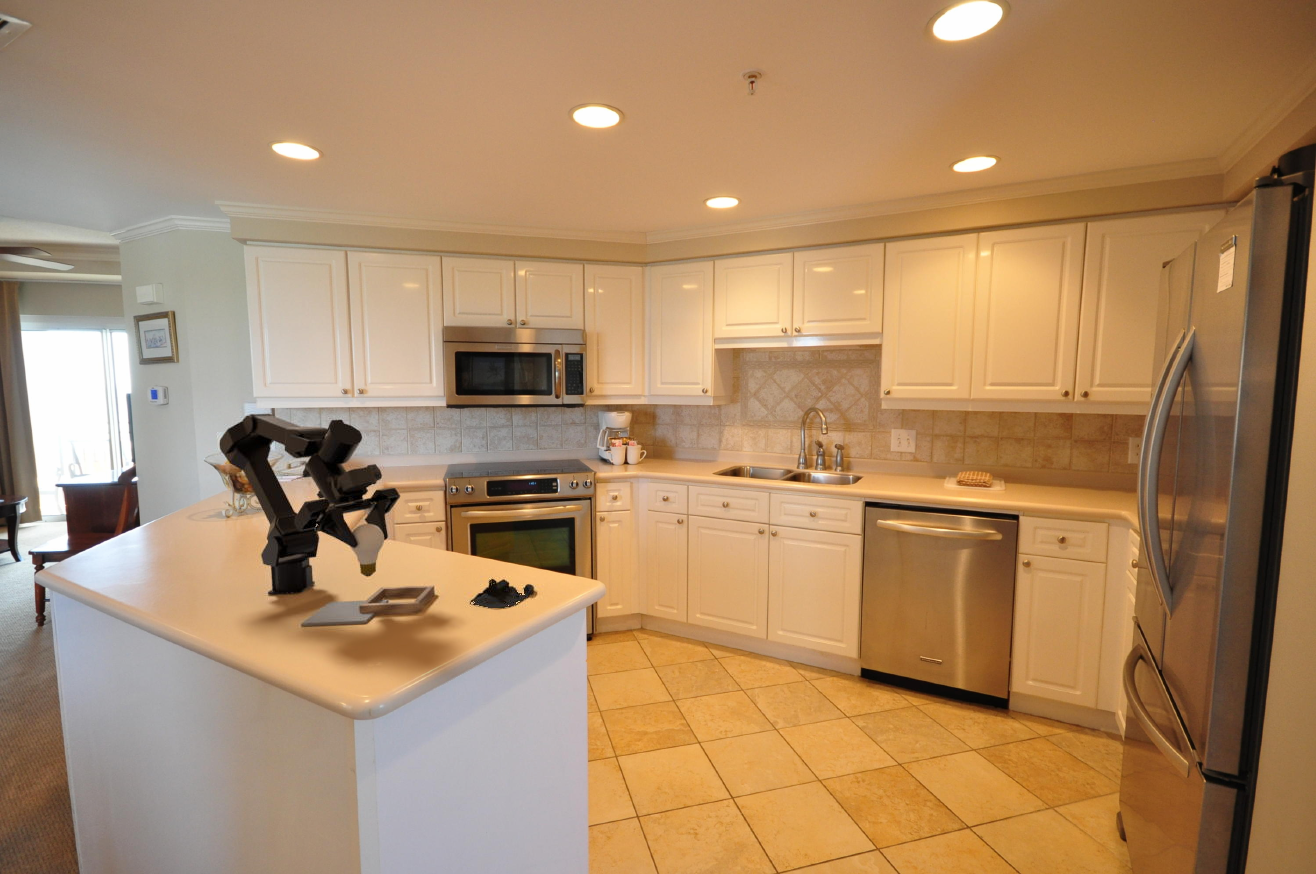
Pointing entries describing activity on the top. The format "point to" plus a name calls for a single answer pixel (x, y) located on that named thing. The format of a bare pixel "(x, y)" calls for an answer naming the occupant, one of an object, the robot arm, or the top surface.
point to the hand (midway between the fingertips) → (371, 542)
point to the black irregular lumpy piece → (501, 595)
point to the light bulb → (368, 547)
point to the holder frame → (398, 607)
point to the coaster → (340, 614)
